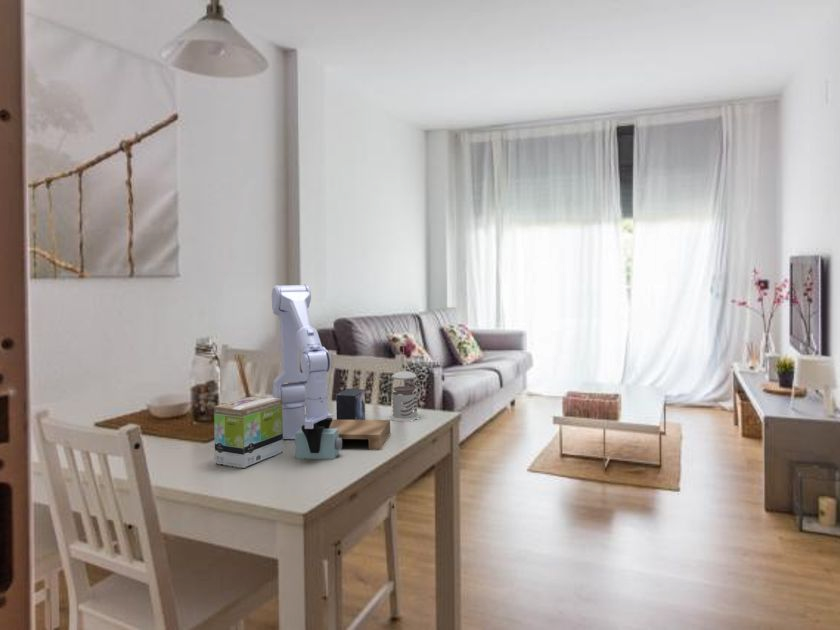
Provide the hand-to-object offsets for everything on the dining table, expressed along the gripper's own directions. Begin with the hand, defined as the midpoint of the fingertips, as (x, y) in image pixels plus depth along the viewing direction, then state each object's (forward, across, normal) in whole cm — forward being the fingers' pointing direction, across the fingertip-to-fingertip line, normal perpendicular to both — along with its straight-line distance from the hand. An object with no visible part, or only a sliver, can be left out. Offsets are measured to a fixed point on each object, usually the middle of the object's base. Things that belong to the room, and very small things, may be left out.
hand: (318, 449), depth 153 cm
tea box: (+2, -3, +17) cm, 17 cm away
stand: (+2, +14, -6) cm, 15 cm away
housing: (+2, 0, 0) cm, 2 cm away
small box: (+2, +32, -1) cm, 32 cm away
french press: (+2, +42, -17) cm, 45 cm away
